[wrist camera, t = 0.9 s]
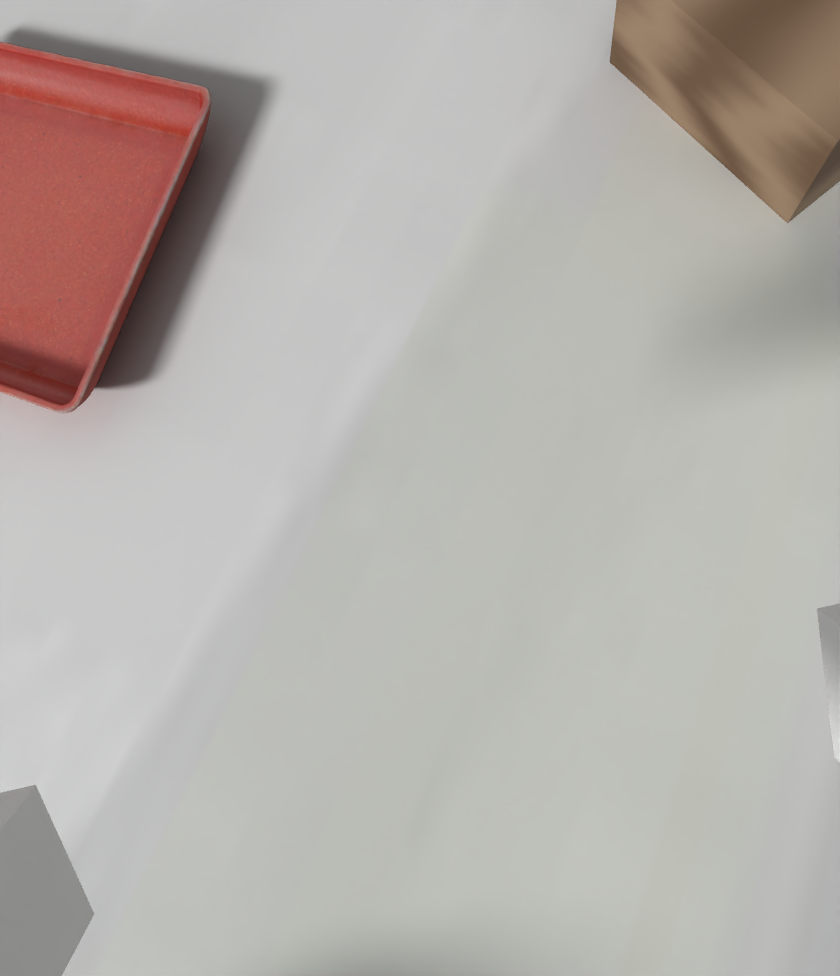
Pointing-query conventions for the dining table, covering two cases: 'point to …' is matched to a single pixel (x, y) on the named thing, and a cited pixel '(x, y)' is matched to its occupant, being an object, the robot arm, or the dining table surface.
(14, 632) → the dining table surface
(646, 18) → the walnut block
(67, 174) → the plant saucer
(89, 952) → the dining table surface
